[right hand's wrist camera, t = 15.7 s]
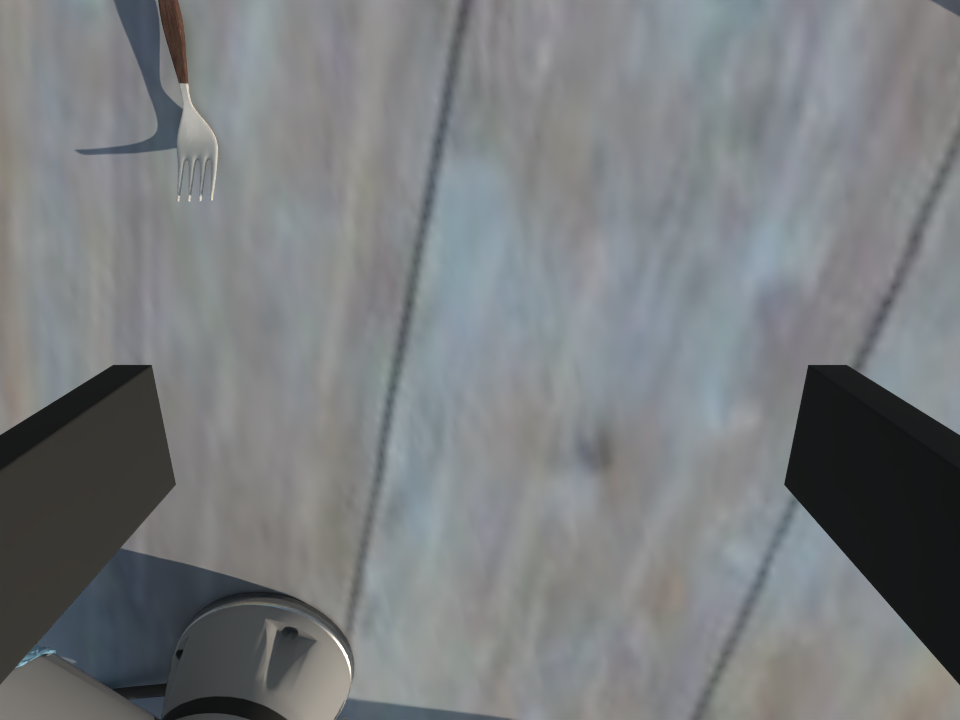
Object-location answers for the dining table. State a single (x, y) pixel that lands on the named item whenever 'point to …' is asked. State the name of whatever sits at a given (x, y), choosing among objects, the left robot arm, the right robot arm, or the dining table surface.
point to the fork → (188, 106)
